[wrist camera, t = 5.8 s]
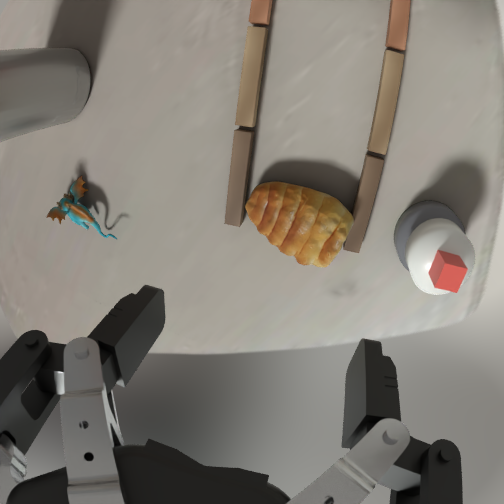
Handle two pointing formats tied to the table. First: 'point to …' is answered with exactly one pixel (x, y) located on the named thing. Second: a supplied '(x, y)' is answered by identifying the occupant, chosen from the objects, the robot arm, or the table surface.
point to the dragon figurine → (75, 208)
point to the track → (378, 130)
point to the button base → (417, 217)
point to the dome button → (439, 256)
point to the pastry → (300, 221)
